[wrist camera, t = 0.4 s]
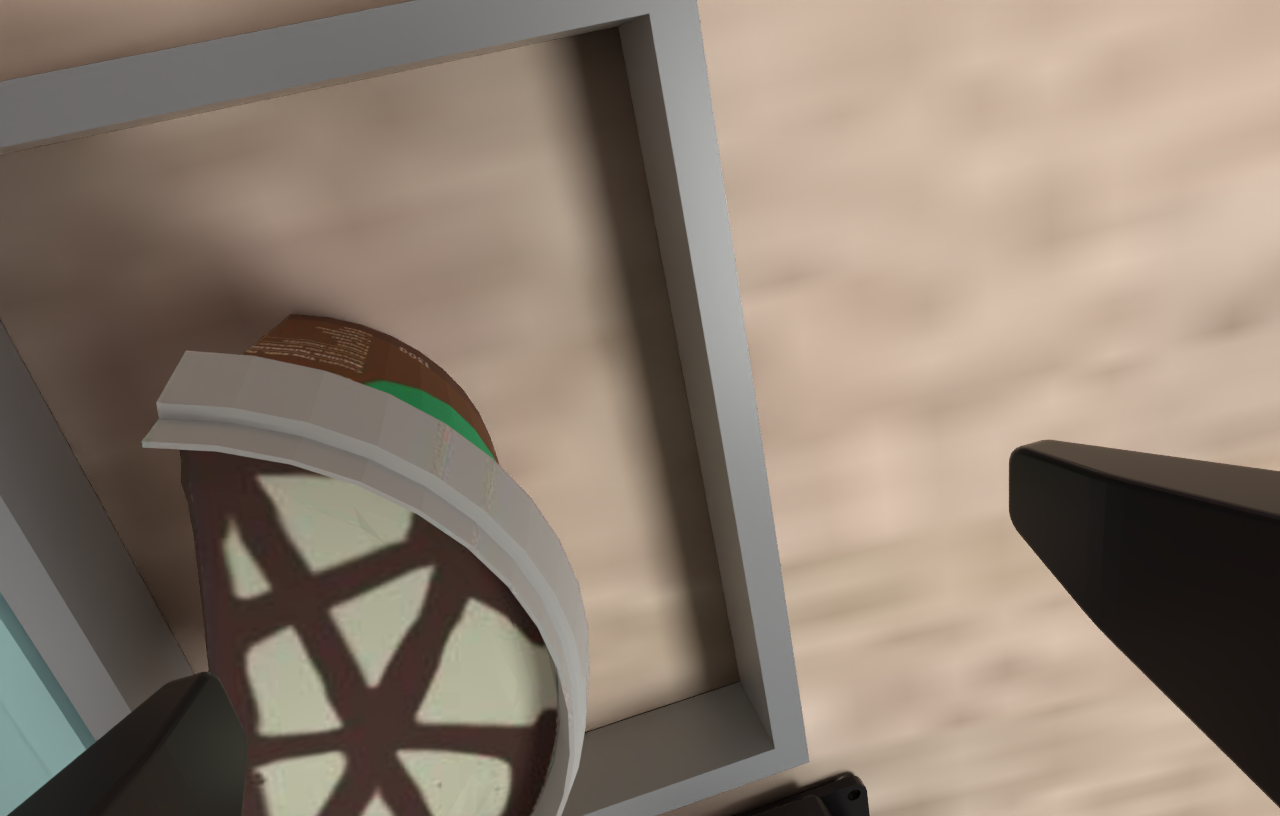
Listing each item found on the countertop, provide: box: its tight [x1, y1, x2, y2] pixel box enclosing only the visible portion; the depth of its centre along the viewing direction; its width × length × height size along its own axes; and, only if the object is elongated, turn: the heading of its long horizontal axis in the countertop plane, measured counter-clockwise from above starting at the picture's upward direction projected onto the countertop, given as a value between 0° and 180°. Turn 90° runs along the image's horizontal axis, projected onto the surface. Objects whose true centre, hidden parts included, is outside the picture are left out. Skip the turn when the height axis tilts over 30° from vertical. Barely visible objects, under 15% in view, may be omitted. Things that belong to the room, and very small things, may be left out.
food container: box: [141, 314, 589, 816], centre depth 17 cm, size 12×6×10 cm, turn 175°
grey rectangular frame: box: [0, 0, 809, 816], centre depth 20 cm, size 22×17×3 cm
